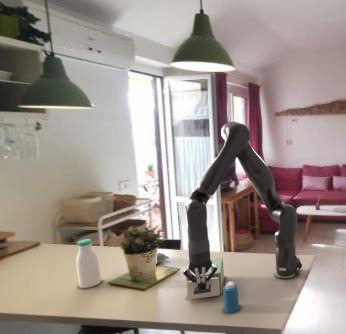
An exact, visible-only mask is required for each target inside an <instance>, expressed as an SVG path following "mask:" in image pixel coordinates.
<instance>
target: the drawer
mask: <svg viewBox="0 0 346 334" xmlns="http://www.w3.org/2000/svg"><path fill="white" fill-rule="evenodd" d="M201 281H202V277H201ZM186 288H188V290H187V299H188V301H189V300H190V301H191V300H197V299H204V298H211V297H217V296H218V297H219V296H221V294H220V289H219V277H218V275H216V276H212V278H211V279H210V280H209V281H206V289H202V290H198V284H197V283H196V282H194V283H193V282H192V281H191V280H190V281H187V280H186Z"/></svg>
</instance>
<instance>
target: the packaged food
mask: <svg viewBox="0 0 346 334" xmlns="http://www.w3.org/2000/svg"><path fill="white" fill-rule="evenodd" d="M157 252H158V254H157V264H156V265H159V264H160V263H162V262H164V261H166V260H169V259H170V257H169V256H168V255H165V254H164V253H161V252H159V251H157Z"/></svg>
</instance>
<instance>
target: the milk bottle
mask: <svg viewBox="0 0 346 334" xmlns="http://www.w3.org/2000/svg"><path fill="white" fill-rule="evenodd" d="M77 247H78V253H77V255H76V259H75V265H76V273H77V280H78V286H79V287H80V288H82V289H86V288H87V289H88V288H92V287H95V286H97V285H99V284H100V283H101V281H102V276H101V270H100V263H99V257H98V255H97V253H96V251H95V250H94V249H93V247H92V240H91V239H90V238H86V239H82V240H81V239H80V240H79V241H77Z"/></svg>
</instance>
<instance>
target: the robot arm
mask: <svg viewBox="0 0 346 334" xmlns="http://www.w3.org/2000/svg"><path fill="white" fill-rule="evenodd" d="M221 137H222V139H223V141H224V143H223V147H222V149H221V150H220V152H219V153H218V155H217V156H216V157H215V159H214V160H213V161H212V162H211V163H210V164H209V165H208V167H207V168H206V169H205V170H204V172H203V174H202V176H201V177H200V179H199V180H198V183H197V185H196V187H195V188H194V189H193V191H192V192H191V194H190V195H189V197H188V198H187V200H186V202H185V205H184V207H185V208H184V209H185V213H186V219H187V248H188V250H187V251H188V261H189V263H188V267H187V268H185V269H183V272H182V274H183V275H184V276H185V277H187V278H188V279H189V280H191V281H192V282H193V283H194V282H196V283H197V284H198V290H202V289H206V281H209V280H210V279H211V278H212V276H213V275H214V274H215V272H216V271H217V269H218V266H217V265H216V266H215V265H213V264H212V261H211V259H212V258H211V245H210V239H209V232H208V209H207V203H208V202H209V200H210V199H211V197H212V196H214V195H215V194H216V192H217V190H218V188H219V186H220V185H221V183H222V181H223V179H224V177H226V174H227V172H228V171H229V170H230V168H231V167H232V165H233V163H234V162H235V161H236V160H238V162H239V164H240V166H241V168H242V170H243V172H244V174H245V175H246V177H247V179H248V180H249V182H250V183H251V185H252V187H253V189H254V190H255V191H256V193H257V195H258V196H259V197H260V199H261V200H262V202H263V204H264V206H265V208H266V210H267V213H268V214H269V216H270V217H269V218H271V220H272V221H273V222H274V223H276V224H279V230H277V231H275V233H274V253H275V254H274V255H275V256H274V257H275V276H276V277H277V278H279V279H283V280H287V279H292V278H294V277H297V276H298V271H300V270H301V269H302V267H303V264H302V263H301V259H300V257H298V256H297V247H296V235H297V233H298V232H297V231H298V212H297V209H296V208H295V207H294V206H293V205H291V204H287V203H285V202H283V201H282V198H280V195H278V193H277V190H276V181H275V178H274V175H273V174H272V172H271V170H270V168H269V166H268V165H267V164H266V162H265V161H264V159H262V158H261V156H260V155H259V154H258V153H257V152H256V151H255V150H254V148H253V147H252V145H251V143H250V140H251V137H252V134H251V130H250V128H249V127H248V126H247V125H246V124H245V123H241V122H238V121H228V122H226V123H225V124H224V125H223V126H222V128H221ZM210 268H211V272H210V273H209V275H208V276H207V277H206V273H207V272H208V270H209V269H210ZM190 270H191V271H192V272H193V273H194V274H195V275H196V277H195V276H194V275H193V274H192V273H191V271H190ZM201 274H202V281H201Z"/></svg>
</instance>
